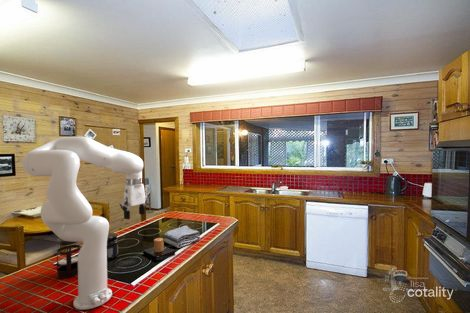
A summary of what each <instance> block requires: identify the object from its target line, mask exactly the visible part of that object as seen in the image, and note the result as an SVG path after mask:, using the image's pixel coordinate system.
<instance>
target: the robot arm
mask: <svg viewBox="0 0 470 313" xmlns="http://www.w3.org/2000/svg"><path fill="white" fill-rule="evenodd" d="M81 161H82V162H85V163H89V164H92V165H95V166H97V167H101V168H107V169H108V168H109V169H110V170H111V171H112V172H113V173H116V174H125V181H124V184H125V186H124V191H123V199H122V200H121V201H119V206H120V209H122V211H123V219H124V220H130V219H131V211H130V209H131V207H136V206H138V214H139V215H145V214H146V209H145V208H146V206H147V202H148V199H149V198H148V196H147V195H146V191H145V190H146V189H145V185H144V183H143V169H144V161H143V159H142V158H141V157H140V156H138V155H137V154H135V153H132V152H129V151H125V150H121V149H118V148H114V147H109V146H107V145H105V144H103V143H100V142H98V141H97V140H95V139H93V138H90V137H89V136H82V135H81V136H79V135H77V136H61V137H57V138H55V139H53V140H51V141H49V142H47V143H45V144H43V145H40V146H38V147H36V148H33V149H32V150H30V151H29V152H26V154H25V155H24V156H23V158H22V160H21V167H22V169H23V171H24V172H25V173H26V174H27V175H30V176H33V177H50V179H49V181H48V185H47V188H46V191H45V194H46V195H45V196H46V198H47V200H46V201H45V202H44V203H43V204H42V205H41V207H40V218H41V221H42V222H43V223H44V224H45V226H46V227H47V228H48V229H49V230H50V231H51V232H53V234H55V235H56V237H58V238H60V239H62V240H64V241H71V242H77V243H82V245H81V246H82V247H81V248H80V250H79V251H78V253H77V257H78V261H77V263H78V275H77V284H78V285H77V294H78V295H77V296H76V297H75V298H74V299H73V302H72V303H73V308H75V309H76V310H81V311H82V310H91V309H94V308H97V307H100V306H103V305H104V304H105V303H107V302H108V301H109V300H111V298H112V297H113V290H112V289H111V288H109V287H108V261H107V238H108V233H110V223H109V221H108V219H107V218H105V217H103V216H101V215H93V213H94V212H93V211H94V210H93V207H92V204H90V203H89V200H88V199H87V198H86V197H85V195H83V193H82V191H81V190H80V189H79V188H78V185H77V180H78V179H77V178H78V174H79V170H80V167H81Z"/></svg>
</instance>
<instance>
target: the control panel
mask: <svg viewBox="0 0 470 313" xmlns="http://www.w3.org/2000/svg"><path fill="white" fill-rule="evenodd" d="M142 255H143V256H145V257H146V258H148V259H150V260H152V261H154V262H157V263H158V262H160V261H162V260H166V259H169V258H171V257H173V256H175V255H176V250H174V249H173V248H170V247H168V246H165V245H164V250H163V251H161V252H154V246H153V247H149V248H146V249H143V250H142Z"/></svg>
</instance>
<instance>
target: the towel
mask: <svg viewBox="0 0 470 313" xmlns="http://www.w3.org/2000/svg"><path fill="white" fill-rule="evenodd" d="M163 237H164V238H163V241H164V243H166V244H168V245H170V246H173V247H175V248H177V249H181V248H183V247H186V246H188V245H191V244H193V243H196V242H198V241H200V239H201V234H200V231H198V230H196V229H195V230H194V229H191V228H190V227H189V226H188V225H183V226H180V227H177V228H173V229H170V230H168V231H166V232H165V233H164V234H163Z"/></svg>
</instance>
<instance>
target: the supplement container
mask: <svg viewBox="0 0 470 313" xmlns="http://www.w3.org/2000/svg"><path fill="white" fill-rule="evenodd" d="M118 256H119V239H118V234H117V233H115V232H109V233H108V238H107V262H109V261H112V260H115V259H116V258H117V257H118Z"/></svg>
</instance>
